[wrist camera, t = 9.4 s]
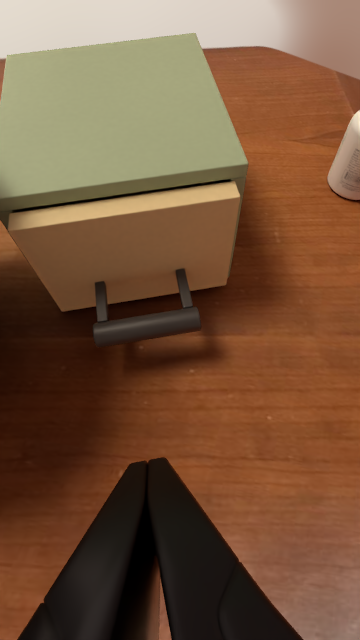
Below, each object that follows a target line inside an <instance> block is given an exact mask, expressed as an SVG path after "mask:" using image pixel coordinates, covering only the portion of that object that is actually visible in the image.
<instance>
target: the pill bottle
mask: <svg viewBox="0 0 360 640" xmlns="http://www.w3.org/2000/svg"><path fill="white" fill-rule="evenodd" d="M328 183H329V185H330V187H331V188H332V190H333V191H335V192H336V193H337V194H339V195H340V196H342V197H345V198H348V199H352V200H360V110H359V111H358V112H357V113H356V114H355V115H354V116H353V118H352V119H351V121H350V123H349V126H348V128H347V130H346V133H345V135H344V137H343V140H342V142H341V145H340V147H339V150H338V152H337V154H336V157H335V159H334V161H333V164H332V166H331V169H330V171H329V174H328Z"/></svg>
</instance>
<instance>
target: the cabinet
mask: <svg viewBox="0 0 360 640" xmlns="http://www.w3.org/2000/svg"><path fill="white" fill-rule="evenodd" d="M247 169H248V161H247V159H246V156H245V154H244V151H243V149H242V146H241V144H240V142H239V139H238V137H237V134H236V132H235V129H234V127H233V124H232V122H231V119H230V117H229V115H228V112H227V110H226V107H225V105H224V102H223V100H222V97H221V95H220V92H219V90H218V88H217V85H216V83H215V80H214V78H213V75H212V73H211V70H210V68H209V66H208V63H207V61H206V58H205V56H204V53H203V51H202V48H201V46H200V44H199V41H198V39H197V36H196V34H195V33H191V34H182V35H174V36H165V37H156V38H149V39H140V40H131V41H123V42H114V43H106V44H97V45H89V46H81V47H72V48H64V49H55V50H47V51H39V52H30V53H22V54H13V55H7V58H6V65H5V72H4V80H3V87H2V95H1V102H0V220H1V221H2V223H3V224H4V226H5V227H6V229H7V230H8V221H9V214H10V213H17V212H24V211H31V210H34V209H33V207H38V206H45V205H52V204H59V203H66V202H72V201H79V200H86V199H93V198H100V197H107V196H114V195H121V194H128V193H135V192H142V191H149V190H156V189H163V188H170V187H177V186H184V185H191V184H197V183H204V182H211V181H215V182H214V184H217V183H224V182H231V181H235V183H236V186H237V189H238V192H239V194H240V203H239V209H238V215H237V221H236V227H235V234H234V240H233V246H232V252H231V258H230V265H229V271H228V277H229V275H230V270H231V264H232V258H233V252H234V246H235V240H236V235H237V229H238V223H239V217H240V211H241V205H242V199H243V193H244V187H245V181H246V175H247ZM228 277H227V278H228Z"/></svg>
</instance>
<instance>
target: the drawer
mask: <svg viewBox="0 0 360 640" xmlns="http://www.w3.org/2000/svg"><path fill="white" fill-rule="evenodd" d="M214 182H215V181H211V182H204V183H197V184H191V185H184V186H177V187H170V188H163V189H156V190H149V191H142V192H135V193H128V194H121V195H114V196H107V197H100V198H93V199H86V200H79V201H72V202H66V203H59V204H52V205H45V206H38V207H33V209H34V210H31V211H24V212H17V213H10V214H9V221H8V232H9V234H10V235H11V237H12V238H13V240H14V241H15V243H16V244H17V246H18V247H19V249H20V250H21V252H22V253H23V255H24V256H25V258H26V259H27V261H28V262H29V264H30V265H31V267H32V268H33V270H34V271H35V273H36V274H37V275H38V277H39V278H40V280H41V281H42V283H43V284H44V286H45V287H46V289H47V290H48V292H49V293H50V295H51V296H52V298H53V299H54V301H55V302H56V304H57V305H58V307H59V308H60V310H61V311H62V312H63V311H69V310H76V309H82V308H88V307H94V306H96V311H97V322H98V323H95V324H93V337H94V341H95V344H96V346H97V347H98V348H100V347H106V346H112V345H117V344H123V343H129V342H135V341H141V340H147V339H153V338H159V337H165V336H171V335H177V334H183V333H189V332H194V331H200V330H201V320H200V314H199V310H198V308H197V307H193V303H192V299H191V294H190V291H193V290H199V289H205V288H212V287H218V286H224V285H226V283H227V277H228V271H229V265H230V258H231V252H232V246H233V240H234V234H235V227H236V221H237V215H238V209H239V203H240V194H239V192H238V189H237V186H236V183H235V181H231V182H224V183H217V184H214ZM174 293H180V298H181V303H182V308H183V309H179V310H173V311H167V312H161V313H155V314H149V315H143V316H137V317H130V318H124V319H118V320H112V321H109V313H108V304H113V303H119V302H125V301H131V300H137V299H144V298H150V297H156V296H162V295H168V294H174Z"/></svg>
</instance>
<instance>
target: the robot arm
mask: <svg viewBox="0 0 360 640" xmlns="http://www.w3.org/2000/svg"><path fill="white" fill-rule="evenodd" d="M160 577H161V583H162V588H163V594H164V599H165V605H166V610H167V616H168V621H169V627H170V632H171V638H172V640H303V639H302V637H301V636H300V635H299V634H298V633H297V632H296V631H295V630H294V628H293V627H292V626H291V625H290V624H289V623H288V622H287V620H286V619H285V618H284V617H283V616H282V615H281V613H280V612H279V611H278V610H277V609H276V608H275V607H274V605H273V604H272V603H271V602H270V600H269V599H268V598H267V596H266V595H265V594H264V593H263V591H262V590H261V589H260V587H259V586H258V585H257V583H256V582H255V581H254V580H253V578H252V577H251V575H250V574H249V573H248V571H247V570H246V568H245V567H244V566H243V564H242V563H241V562H239V559H238V558H237V556H236V555H235V553H234V552H233V551H232V549H231V548H230V547H229V545H228V544H227V542H226V541H225V540H224V538H223V537H222V535H221V534H220V533H219V531H218V530H217V528H216V527H215V526H214V524H213V523H212V521H211V520H210V519H209V517H208V516H207V514H206V513H205V512H204V510H203V509H202V508H201V506H200V505H199V503H198V502H197V501H196V499H195V498H194V496H193V495H192V494H191V492H190V491H189V489H188V488H187V487H186V485H185V484H184V482H183V481H182V480H181V478H180V477H179V475H178V474H177V473H176V471H175V470H174V469H173V467H172V466H171V464H170V463H169V462H168V460H167V459H166V458H165V457H161V458H156V459H151V460H149V461H148V462H147V461H140V462H135V463H131V464H130V465H129V466H128V467H127V469H126V470H125V472H124V474H123V475H122V477H121V478H120V480H119V481H118V483H117V485H116V486H115V488H114V489H113V491H112V492H111V494H110V496H109V497H108V499H107V500H106V502H105V503H104V505H103V507H102V508H101V510H100V511H99V513H98V514H97V516H96V518H95V519H94V521H93V522H92V524H91V525H90V527H89V529H88V530H87V532H86V533H85V535H84V536H83V538H82V540H81V541H80V543H79V544H78V546H77V547H76V549H75V551H74V552H73V554H72V555H71V557H70V558H69V560H68V562H67V563H66V565H65V566H64V568H63V569H62V571H61V573H60V574H59V576H58V577H57V579H56V580H55V582H54V584H53V585H52V587H51V588H50V590H49V591H48V593H47V595H46V596H45V598H44V603H41V604H40V605H39V607H38V608H37V610H36V611H35V613H34V615H33V616H32V618H31V619H30V621H29V622H28V624H27V626H26V627H25V629H24V630H23V632H22V633H21V635H20V636H19V638H18V639H17V640H159V610H160Z"/></svg>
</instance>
